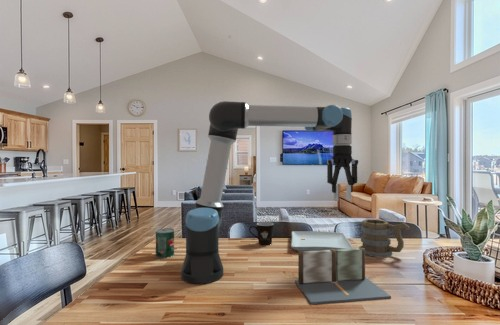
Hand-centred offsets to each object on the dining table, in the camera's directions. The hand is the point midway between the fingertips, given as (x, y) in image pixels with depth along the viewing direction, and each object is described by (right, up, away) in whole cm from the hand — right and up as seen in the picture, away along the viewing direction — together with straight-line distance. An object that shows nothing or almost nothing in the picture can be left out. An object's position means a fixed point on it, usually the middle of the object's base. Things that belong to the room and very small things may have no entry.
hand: (342, 200), depth 115 cm
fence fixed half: (-16, -24, -24) cm, 37 cm away
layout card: (-10, -25, -28) cm, 39 cm away
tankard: (+20, -25, +6) cm, 33 cm away
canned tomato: (-76, -25, +5) cm, 81 cm away
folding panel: (-4, -24, -22) cm, 33 cm away
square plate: (-5, -25, +20) cm, 32 cm away
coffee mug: (-33, -25, +23) cm, 47 cm away
